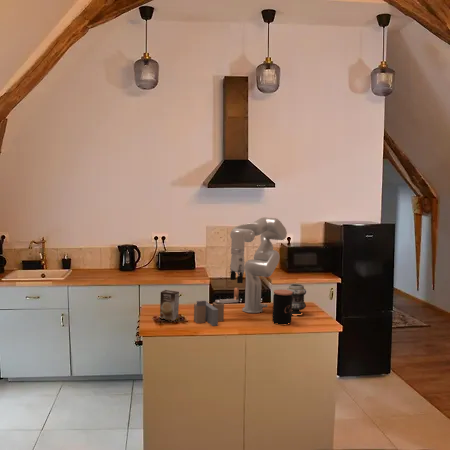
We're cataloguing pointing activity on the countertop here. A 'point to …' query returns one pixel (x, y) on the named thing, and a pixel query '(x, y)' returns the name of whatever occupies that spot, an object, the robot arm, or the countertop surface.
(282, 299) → the coffee jar
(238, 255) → the robot arm
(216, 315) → the grey twin block
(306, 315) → the countertop surface
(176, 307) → the coffee box
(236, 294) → the swing bar
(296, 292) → the apothecary jar
